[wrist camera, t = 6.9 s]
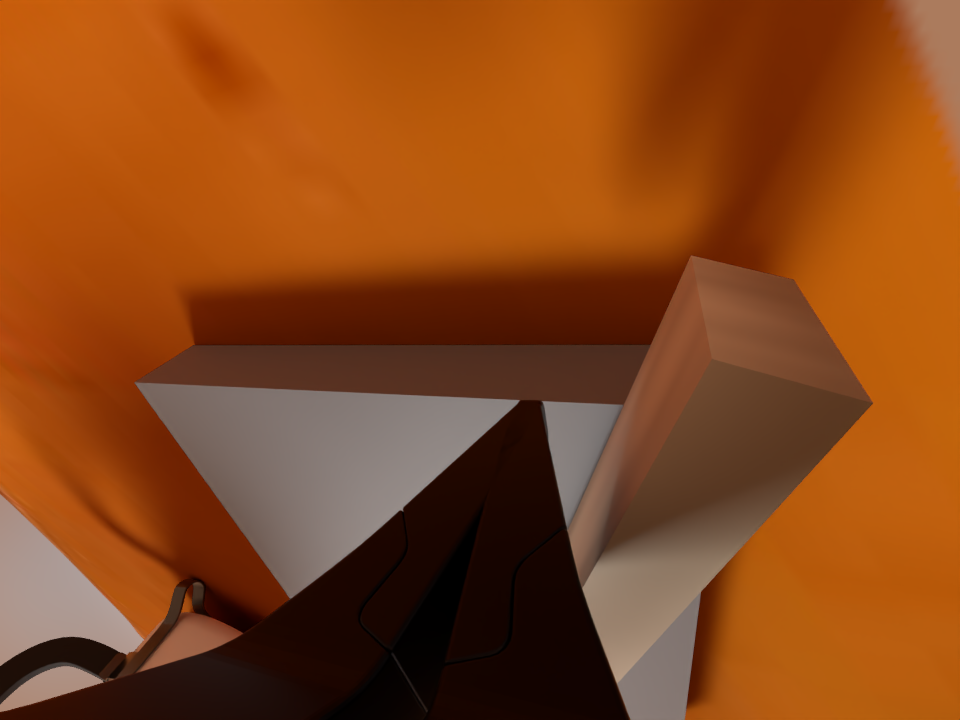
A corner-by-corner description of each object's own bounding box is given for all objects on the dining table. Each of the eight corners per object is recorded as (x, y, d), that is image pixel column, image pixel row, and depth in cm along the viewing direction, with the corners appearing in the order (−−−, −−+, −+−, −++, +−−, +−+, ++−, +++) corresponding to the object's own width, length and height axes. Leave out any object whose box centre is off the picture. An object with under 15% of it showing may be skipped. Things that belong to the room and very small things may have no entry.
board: (710, 344, 11) (724, 409, 9) (674, 714, 21) (676, 780, 19) (193, 345, 17) (133, 382, 15) (364, 628, 28) (343, 672, 26)
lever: (811, 283, 7) (933, 455, 4) (518, 733, 21) (497, 839, 18) (674, 251, 7) (690, 387, 4) (478, 715, 21) (452, 816, 18)
